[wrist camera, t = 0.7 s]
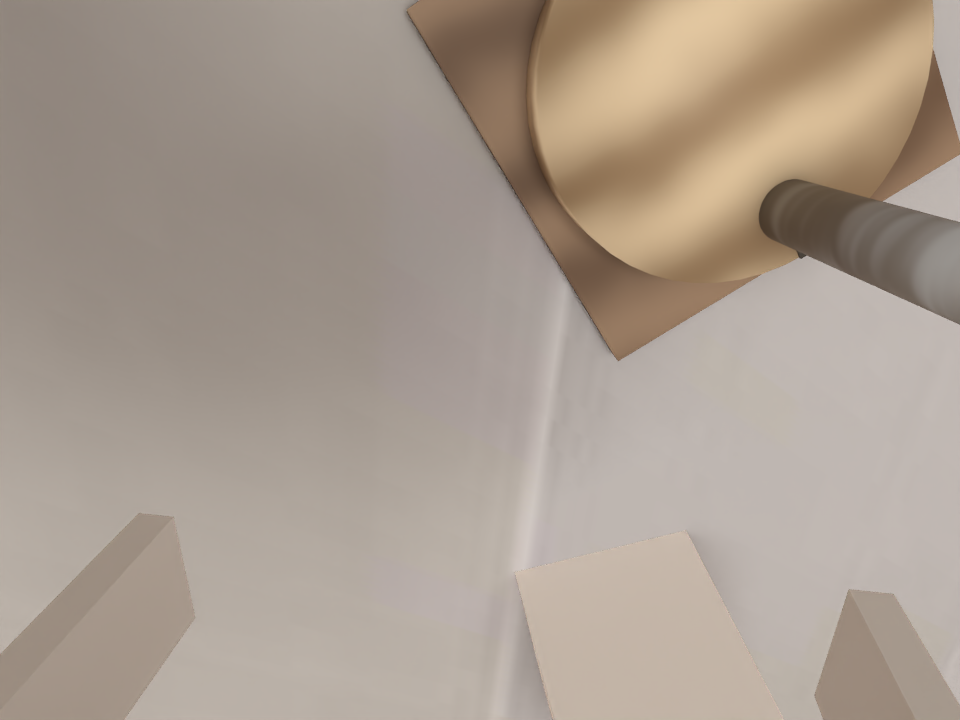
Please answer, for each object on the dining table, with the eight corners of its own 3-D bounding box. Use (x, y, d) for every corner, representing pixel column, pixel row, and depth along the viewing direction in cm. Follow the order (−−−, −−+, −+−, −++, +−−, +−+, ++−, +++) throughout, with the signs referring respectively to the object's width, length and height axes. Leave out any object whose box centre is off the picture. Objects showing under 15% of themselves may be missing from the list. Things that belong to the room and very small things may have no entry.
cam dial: (453, 21, 30) (492, -25, 16) (815, -238, 27) (1227, -553, 14) (630, 328, 37) (763, 479, 23) (931, 144, 34) (1281, 190, 20)
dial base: (406, 11, 31) (406, 8, 29) (816, -286, 28) (837, -304, 26) (612, 353, 39) (619, 363, 37) (945, 150, 36) (967, 153, 34)
